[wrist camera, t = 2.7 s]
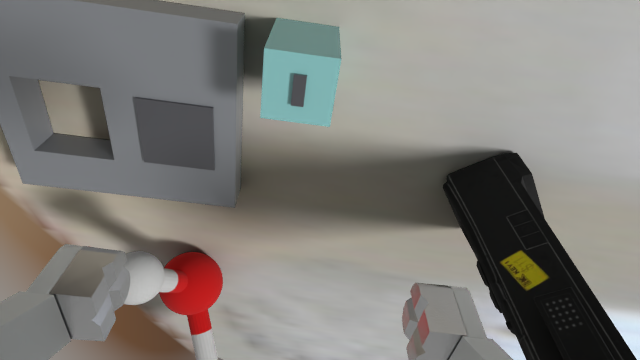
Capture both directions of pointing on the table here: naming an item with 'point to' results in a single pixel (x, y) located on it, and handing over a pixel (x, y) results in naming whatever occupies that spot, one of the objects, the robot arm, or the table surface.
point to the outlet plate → (128, 96)
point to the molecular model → (179, 291)
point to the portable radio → (529, 265)
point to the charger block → (300, 72)
